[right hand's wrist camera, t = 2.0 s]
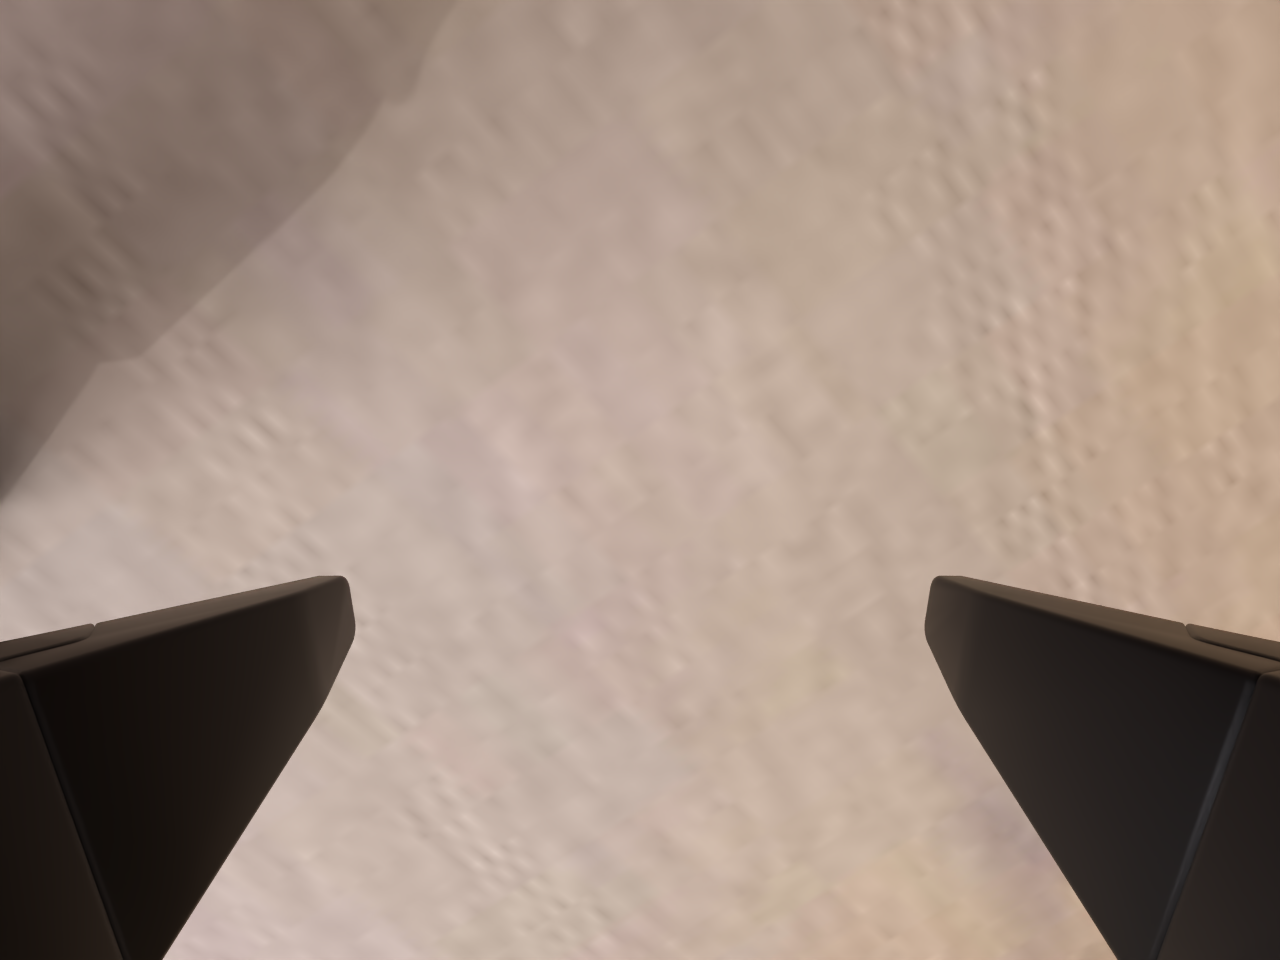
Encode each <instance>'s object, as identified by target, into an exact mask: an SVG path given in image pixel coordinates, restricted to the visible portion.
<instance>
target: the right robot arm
mask: <svg viewBox="0 0 1280 960" xmlns="http://www.w3.org/2000/svg"><path fill="white" fill-rule="evenodd" d="M354 636H355V618H354V612H353V606H352V599H351V593H350V587H349V584H348V581H347V579H346V578H345V577H343V576H316V577H311V578H307V579H302V580H297V581H293V582H288V583H283V584H279V585H274V586H269V587H265V588H260V589H255V590H250V591H246V592H241V593H236V594H232V595H227V596H222V597H218V598H213V599H208V600H203V601H199V602H194V603H189V604H185V605H180V606H175V607H171V608H166V609H161V610H156V611H152V612H147V613H142V614H138V615H133V616H128V617H124V618H119V619H114V620H110V621H105V622H100V623H97V624H96V625H95V627H94V625H93V624H86V625H81V626H77V627H72V628H67V629H62V630H57V631H52V632H48V633H43V634H38V635H33V636H28V637H23V638H18V639H13V640H8V641H3V642H0V960H163V958H164V956H165V955H166V953H167V952H168V950H169V949H170V947H171V945H172V944H173V942H174V941H175V939H176V937H177V936H178V934H179V933H180V931H181V930H182V928H183V926H184V925H185V923H186V922H187V920H188V919H189V917H190V915H191V914H192V912H193V911H194V909H195V907H196V906H197V904H198V903H199V901H200V900H201V898H202V896H203V895H204V893H205V892H206V890H207V889H208V887H209V885H210V884H211V882H212V881H213V879H214V878H215V876H216V874H217V873H218V871H219V870H220V868H221V866H222V865H223V863H224V862H225V860H226V859H227V857H228V855H229V854H230V852H231V851H232V849H233V848H234V846H235V844H236V843H237V841H238V840H239V838H240V836H241V835H242V833H243V832H244V830H245V829H246V827H247V825H248V824H249V822H250V821H251V819H252V818H253V816H254V814H255V813H256V811H257V810H258V808H259V807H260V805H261V803H262V802H263V800H264V799H265V797H266V795H267V794H268V792H269V791H270V789H271V788H272V786H273V784H274V783H275V781H276V780H277V778H278V777H279V775H280V773H281V772H282V770H283V769H284V767H285V765H286V764H287V762H288V761H289V759H290V758H291V756H292V754H293V753H294V751H295V750H296V748H297V747H298V745H299V743H300V742H301V740H302V739H303V737H304V736H305V734H306V732H307V731H308V729H309V728H310V726H311V724H312V723H313V721H314V720H315V718H316V716H317V715H318V713H319V711H320V710H321V708H322V706H323V704H324V702H325V700H326V698H327V696H328V694H329V692H330V690H331V688H332V686H333V683H334V681H335V679H336V677H337V675H338V673H339V670H340V668H341V666H342V664H343V662H344V660H345V658H346V655H347V653H348V651H349V649H350V647H351V645H352V642H353V640H354ZM925 636H926V640H927V642H928V645H929V647H930V649H931V651H932V653H933V655H934V658H935V660H936V662H937V664H938V666H939V668H940V670H941V673H942V675H943V677H944V679H945V681H946V683H947V686H948V688H949V690H950V692H951V694H952V696H953V698H954V700H955V702H956V704H957V706H958V708H959V710H960V711H961V713H962V715H963V716H964V718H965V720H966V721H967V723H968V724H969V726H970V728H971V729H972V731H973V732H974V734H975V735H976V737H977V739H978V740H979V742H980V743H981V745H982V747H983V748H984V750H985V751H986V753H987V754H988V756H989V758H990V759H991V761H992V762H993V764H994V765H995V767H996V769H997V770H998V772H999V773H1000V775H1001V776H1002V778H1003V780H1004V781H1005V783H1006V784H1007V786H1008V787H1009V789H1010V791H1011V792H1012V794H1013V795H1014V797H1015V799H1016V800H1017V802H1018V803H1019V805H1020V806H1021V808H1022V810H1023V811H1024V813H1025V814H1026V816H1027V817H1028V819H1029V821H1030V822H1031V824H1032V825H1033V827H1034V829H1035V830H1036V832H1037V833H1038V835H1039V836H1040V838H1041V840H1042V841H1043V843H1044V844H1045V846H1046V847H1047V849H1048V851H1049V852H1050V854H1051V855H1052V857H1053V859H1054V860H1055V862H1056V863H1057V865H1058V866H1059V868H1060V870H1061V871H1062V873H1063V874H1064V876H1065V877H1066V879H1067V881H1068V882H1069V884H1070V885H1071V887H1072V889H1073V890H1074V892H1075V893H1076V895H1077V896H1078V898H1079V900H1080V901H1081V903H1082V904H1083V906H1084V907H1085V909H1086V911H1087V912H1088V914H1089V915H1090V917H1091V918H1092V920H1093V922H1094V923H1095V925H1096V926H1097V928H1098V930H1099V931H1100V933H1101V934H1102V936H1103V937H1104V939H1105V941H1106V942H1107V944H1108V945H1109V947H1110V948H1111V950H1112V952H1113V953H1114V955H1115V956H1116V958H1117V960H1280V642H1277V641H1272V640H1267V639H1262V638H1257V637H1252V636H1247V635H1242V634H1237V633H1232V632H1228V631H1223V630H1218V629H1213V628H1208V627H1203V626H1199V625H1194V624H1187V625H1186V627H1185V625H1184V624H1183V623H1180V622H1176V621H1171V620H1166V619H1161V618H1157V617H1152V616H1147V615H1143V614H1138V613H1133V612H1129V611H1124V610H1119V609H1114V608H1110V607H1105V606H1100V605H1096V604H1091V603H1086V602H1081V601H1077V600H1072V599H1067V598H1063V597H1058V596H1053V595H1049V594H1044V593H1039V592H1034V591H1030V590H1025V589H1020V588H1016V587H1011V586H1006V585H1001V584H997V583H992V582H987V581H983V580H978V579H973V578H969V577H964V576H937V577H935V578H934V579H933V581H932V584H931V587H930V593H929V599H928V606H927V612H926V618H925Z"/></svg>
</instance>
